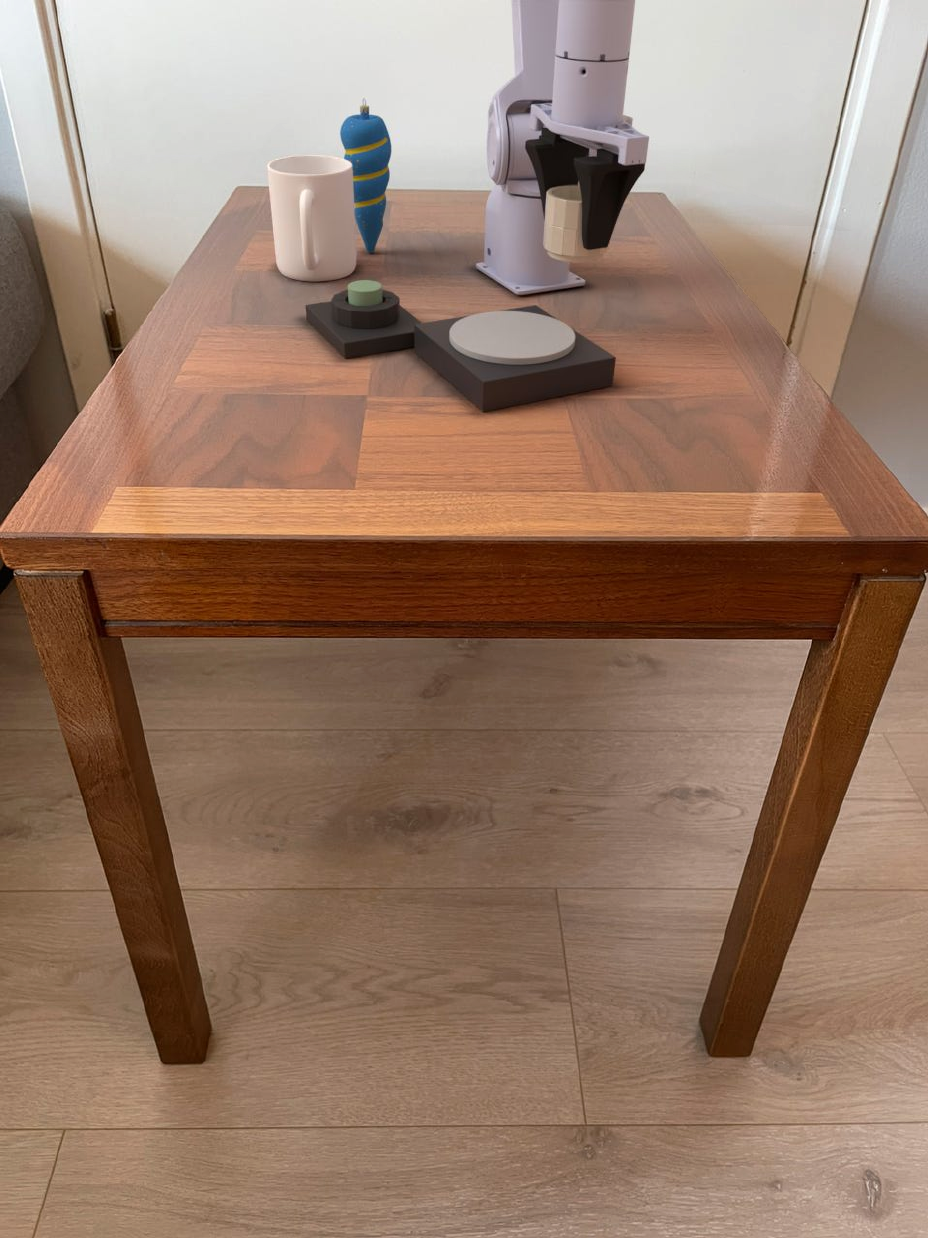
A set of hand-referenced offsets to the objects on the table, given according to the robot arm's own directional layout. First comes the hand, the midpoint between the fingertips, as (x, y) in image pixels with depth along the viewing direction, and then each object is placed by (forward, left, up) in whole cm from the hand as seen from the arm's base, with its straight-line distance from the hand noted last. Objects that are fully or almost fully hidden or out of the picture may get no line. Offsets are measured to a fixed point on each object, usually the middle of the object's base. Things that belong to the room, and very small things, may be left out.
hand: (576, 237), depth 84 cm
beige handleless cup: (0, 0, -1) cm, 1 cm away
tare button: (-8, -17, -6) cm, 19 cm away
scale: (+5, -9, -8) cm, 13 cm away
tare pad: (-8, -17, -8) cm, 20 cm away
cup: (-24, -16, -9) cm, 30 cm away
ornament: (-29, -8, -9) cm, 31 cm away
